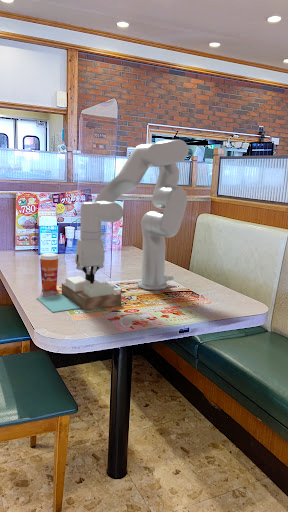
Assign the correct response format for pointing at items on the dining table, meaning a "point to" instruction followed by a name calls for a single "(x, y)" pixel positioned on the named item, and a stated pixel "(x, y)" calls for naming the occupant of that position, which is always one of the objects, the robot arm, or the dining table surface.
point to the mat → (58, 303)
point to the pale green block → (98, 289)
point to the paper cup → (49, 271)
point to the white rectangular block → (76, 283)
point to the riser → (91, 298)
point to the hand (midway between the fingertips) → (89, 283)
